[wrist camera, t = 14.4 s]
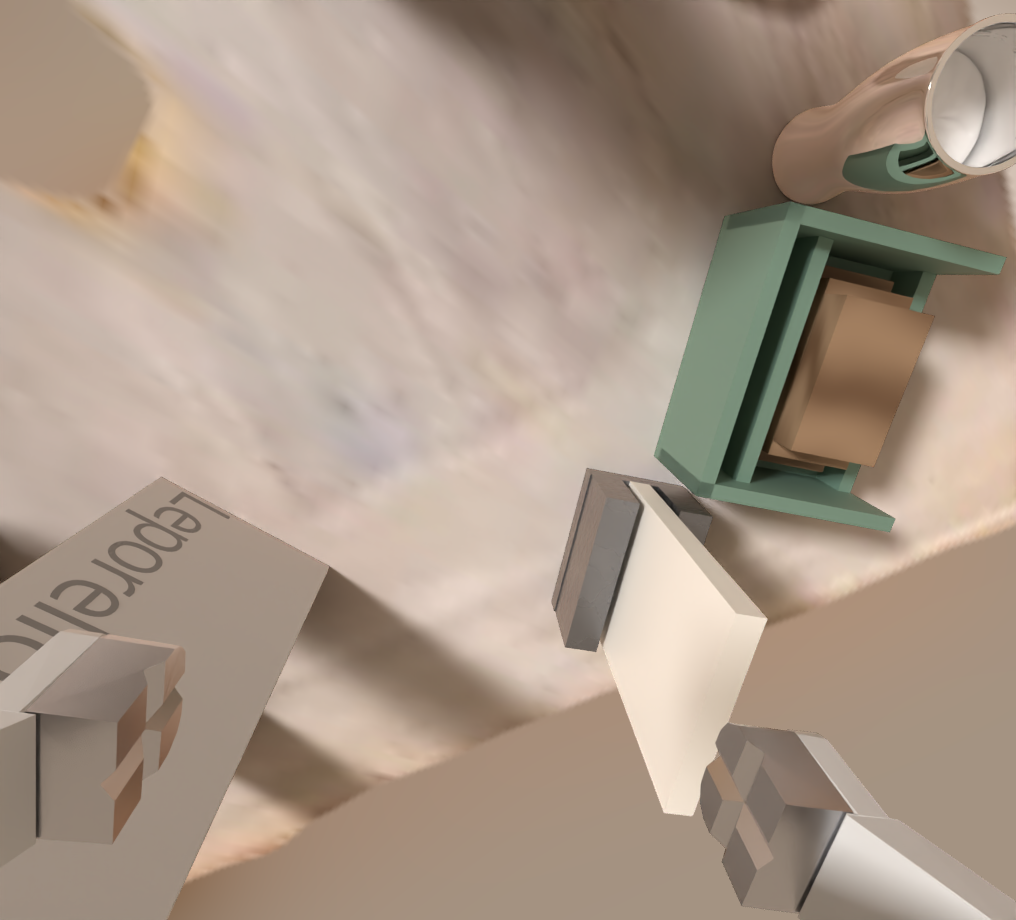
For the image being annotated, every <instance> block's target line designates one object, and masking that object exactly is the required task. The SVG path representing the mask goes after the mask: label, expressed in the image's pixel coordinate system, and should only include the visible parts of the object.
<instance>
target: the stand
mask: <svg viewBox="0 0 1016 920" xmlns="http://www.w3.org/2000/svg"><path fill="white" fill-rule="evenodd" d="M630 481H633V482H638V483H643V484H649V485H650V486H651V487H652V488H653V489H654V490H655V491H656V493H657V494H658V495H659V496H660V497H661V498H662V499H663V500H664V502H665V503H666V504H667V505H668V506H669V507H670V508H671V510H672V511H673V512H674V513H675V514H676V515H677V516H678V518H679V519H680V520H681V521H682V522H683V523H684V524H685V525H686V527H687V528H688V529H689V530H690V531H691V532H692V533H693V535H694V536H695V537H696V538H697V539H698V540H699V541H700V542H701V544H702V545H704V542H705V539H706V536H707V533H708V530H709V527H710V524H711V521H712V518H713V517H712V516H711V515H710V514H709V513H708V512H707V511H706V510H705V509H704V508H703V507H702V506H701V505H700V504H699V503H698V502H697V501H696V500H695V499H694V498H693V497H692V496H691V495H690V494H689V492H688V491H687V490H686V489H685V488H684V487H683V486H679V485H674V484H668V483H663V482H658V481H652V480H647V479H642V478H637V477H631V476H626V475H621V474H615V473H610V472H605V471H599V470H594V469H589V468H587V469H586V473H585V477H584V481H583V484H582V488H581V492H580V496H579V500H578V503H577V507H576V511H575V515H574V518H573V522H572V526H571V530H570V534H569V537H568V541H567V545H566V549H565V552H564V556H563V560H562V564H561V568H560V571H559V575H558V579H557V583H556V586H555V590H554V594H553V598H552V605H553V609H554V611H555V612H556V616H557V619H558V623H559V627H560V631H561V634H562V638H563V642H564V645H565V647H567V648H574V649H580V650H587V651H594V652H596V650H597V647H598V644H599V640H600V637H601V633H602V630H603V627H604V623H605V620H606V617H607V613H608V610H609V606H610V603H611V600H612V596H613V593H614V589H615V586H616V583H617V579H618V576H619V573H620V569H621V566H622V562H623V559H624V556H625V552H626V549H627V545H628V542H629V539H630V535H631V532H632V528H633V525H634V522H635V518H636V515H637V512H638V508H639V505H640V503H639V502H638V501H637V499H636V498H635V497H634V495H633V494H632V493H631V491H630V490H629V489H628V486H629V483H630Z"/></svg>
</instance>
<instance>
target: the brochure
mask: <svg viewBox="0 0 1016 920" xmlns="http://www.w3.org/2000/svg"><path fill="white" fill-rule="evenodd" d="M328 570H329V566H328V565H326V564H324V563H322V562H320V561H318V560H317V559H315V558H313V557H311V556H309V555H307V554H305V553H303V552H301V551H300V550H298V549H296V548H294V547H292V546H290V545H288V544H286V543H285V542H283V541H281V540H279V539H277V538H275V537H273V536H271V535H270V534H268V533H266V532H264V531H262V530H260V529H258V528H256V527H254V526H253V525H251V524H249V523H247V522H245V521H243V520H241V519H239V518H238V517H236V516H234V515H232V514H230V513H228V512H226V511H224V510H222V509H221V508H219V507H217V506H215V505H213V504H211V503H209V502H207V501H206V500H204V499H202V498H200V497H198V496H196V495H194V494H192V493H191V492H189V491H187V490H185V489H183V488H181V487H179V486H177V485H175V484H174V483H172V482H170V481H168V480H166V479H164V478H162V477H160V478H159V479H157V480H156V481H154V482H153V483H151V484H150V485H148V486H147V487H145V488H144V489H142V490H141V491H139V492H138V493H136V494H135V495H133V496H132V497H130V498H129V499H127V500H126V501H124V502H123V503H121V504H120V505H118V506H117V507H115V508H114V509H112V510H111V511H109V512H108V513H106V514H105V515H103V516H102V517H100V518H99V519H97V520H96V521H94V522H93V523H91V524H90V525H88V526H87V527H85V528H84V529H82V530H81V531H79V532H78V533H76V534H75V535H73V536H72V537H70V538H69V539H67V540H66V541H64V542H63V543H61V544H60V545H58V546H57V547H55V548H54V549H52V550H51V551H49V552H48V553H46V554H45V555H43V556H42V557H40V558H39V559H37V560H36V561H34V562H33V563H31V564H30V565H28V566H27V567H25V568H24V569H22V570H21V571H19V572H18V573H16V574H15V575H13V576H12V577H10V578H9V579H7V580H6V581H4V582H3V583H1V584H0V683H1V682H2V681H3V680H5V679H6V678H7V677H8V676H9V675H10V674H11V673H13V672H14V671H15V670H16V669H17V668H18V667H20V666H21V665H22V664H23V663H24V662H25V661H26V660H28V659H29V658H30V657H31V656H32V655H33V654H34V653H36V652H37V651H38V650H39V649H40V648H41V647H42V646H44V645H45V644H46V643H47V642H48V641H49V640H50V639H52V638H53V637H54V636H55V635H56V634H57V633H59V632H60V631H64V630H68V629H76V630H82V631H89V632H96V633H103V634H106V635H108V634H111V635H117V636H123V637H129V638H135V639H141V640H148V641H154V642H160V643H166V644H172V645H179V646H182V647H183V649H184V650H185V652H186V657H185V673H184V674H183V676H182V677H181V678H180V680H179V681H178V683H177V684H176V686H175V688H176V690H177V691H178V693H179V694H180V695H181V697H182V698H183V702H182V713H181V718H180V722H179V727H178V731H177V734H176V736H175V739H174V741H173V744H172V746H171V749H170V751H169V754H168V755H167V757H166V759H165V760H164V762H163V764H162V765H161V767H160V769H159V770H158V771H157V772H155V773H154V774H152V775H150V776H149V777H147V778H145V779H143V780H142V792H141V800H140V801H139V803H138V804H137V806H136V808H135V809H134V811H133V812H132V814H131V816H130V817H129V819H128V820H127V822H126V824H125V825H124V827H123V828H122V830H121V831H120V833H119V835H118V836H117V838H116V839H115V841H114V843H113V844H100V843H86V842H71V841H57V840H42V839H36V844H34V845H33V846H32V847H30V848H29V849H27V850H26V851H24V852H23V853H22V854H20V855H19V856H17V857H16V858H14V859H13V860H11V861H10V862H9V863H7V864H6V865H4V866H3V867H1V868H0V920H167V919H168V917H169V915H170V912H171V910H172V908H173V906H174V904H175V901H176V900H177V897H178V895H179V893H180V891H181V889H182V887H183V884H184V882H185V880H186V878H187V876H188V874H189V871H190V869H191V867H192V865H193V863H194V861H195V858H196V856H197V854H198V852H199V850H200V848H201V845H202V843H203V841H204V839H205V837H206V834H207V832H208V830H209V828H210V826H211V824H212V821H213V819H214V817H215V815H216V813H217V811H218V808H219V806H220V804H221V802H222V800H223V798H224V795H225V793H226V791H227V789H228V787H229V785H230V782H231V780H232V778H233V776H234V774H235V772H236V769H237V767H238V765H239V763H240V761H241V759H242V756H243V754H244V752H245V750H246V748H247V746H248V743H249V741H250V739H251V737H252V735H253V733H254V730H255V728H256V726H257V724H258V722H259V719H260V717H261V715H262V713H263V711H264V709H265V706H266V704H267V702H268V700H269V698H270V696H271V693H272V691H273V689H274V687H275V685H276V683H277V680H278V678H279V676H280V674H281V672H282V670H283V667H284V665H285V663H286V661H287V659H288V657H289V654H290V652H291V650H292V648H293V646H294V644H295V641H296V639H297V637H298V635H299V633H300V631H301V628H302V626H303V624H304V622H305V620H306V618H307V615H308V613H309V611H310V609H311V607H312V604H313V602H314V600H315V598H316V596H317V594H318V591H319V589H320V587H321V585H322V583H323V581H324V578H325V576H326V574H327V572H328Z"/></svg>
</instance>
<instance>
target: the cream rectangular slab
mask: <svg viewBox="0 0 1016 920" xmlns="http://www.w3.org/2000/svg"><path fill="white" fill-rule="evenodd" d="M628 489H629V490H630V491H631V493H632V494H633V495H634V497H635V498H636V499H637V501H638V502H639V503H640V505H639V508H638V512H637V515H636V518H635V522H634V525H633V528H632V532H631V535H630V539H629V542H628V545H627V549H626V552H625V556H624V559H623V562H622V566H621V569H620V573H619V576H618V579H617V583H616V586H615V589H614V593H613V596H612V600H611V603H610V606H609V610H608V613H607V617H606V620H605V623H604V627H603V630H602V633H601V637H600V642H601V644H602V647H603V650H604V652H605V655H606V658H607V661H608V663H609V666H610V669H611V671H612V674H613V677H614V679H615V682H616V685H617V688H618V690H619V693H620V695H621V698H622V701H623V704H624V706H625V709H626V712H627V714H628V717H629V720H630V723H631V725H632V728H633V731H634V733H635V736H636V739H637V741H638V744H639V747H640V749H641V752H642V755H643V758H644V760H645V763H646V766H647V769H648V771H649V774H650V777H651V779H652V782H653V784H654V787H655V790H656V793H657V796H658V798H659V800H660V804H661V806H662V809H663V812H664V813H669V814H678V815H687V816H693V813H694V811H695V809H696V806H697V803H698V800H699V798H700V786H701V781H702V778H703V775H704V772H705V769H706V766H707V765H709V764H710V763H711V762H713V761H714V759H715V756H716V753H717V751H718V749H717V747H716V744H715V742H716V740H717V737H718V735H719V732H720V730H721V729H722V728H723V727H724V726H725V725H726V724H727V723H728V722H729V719H730V716H731V714H732V711H733V708H734V706H735V703H736V700H737V698H738V695H739V693H740V690H741V687H742V685H743V682H744V680H745V677H746V674H747V672H748V669H749V666H750V664H751V661H752V659H753V656H754V653H755V651H756V648H757V645H758V642H759V640H760V637H761V634H762V632H763V630H764V627H765V624H766V622H767V617H766V616H765V615H764V614H763V613H762V612H761V611H760V609H759V608H758V607H757V606H756V605H755V604H754V603H753V602H752V600H751V599H750V598H749V597H748V596H747V595H746V594H745V592H744V591H743V590H742V589H741V588H740V587H739V586H738V584H737V583H736V582H735V581H734V580H733V579H732V578H731V577H730V575H729V574H728V573H727V572H726V571H725V570H724V569H723V567H722V566H721V565H720V564H719V563H718V562H717V561H716V560H715V558H714V557H713V556H712V555H711V554H710V553H709V552H708V550H707V549H706V548H705V547H704V546H703V545H702V544H701V542H700V541H699V540H698V539H697V538H696V537H695V536H694V535H693V533H692V532H691V531H690V530H689V529H688V528H687V527H686V525H685V524H684V523H683V522H682V521H681V520H680V519H679V518H678V516H677V515H676V514H675V513H674V512H673V511H672V510H671V508H670V507H669V506H668V505H667V504H666V503H665V502H664V500H663V499H662V498H661V497H660V496H659V495H658V494H657V493H656V491H655V490H654V489H653V488H652V487H651V486H650V485H649V484H643V483H638V482H633V481H630V483H629V486H628Z"/></svg>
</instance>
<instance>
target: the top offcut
mask: <svg viewBox="0 0 1016 920" xmlns="http://www.w3.org/2000/svg"><path fill="white" fill-rule="evenodd" d="M934 317H935V316H933V315H929V314H925V313H920V312H916V311H912V310H908V309H904V308H900V307H895V306H891V305H887V304H883V303H879V302H875V301H871V300H866V299H862V298H858V297H854V296H850V295H840V294H824V297H823V300H822V303H821V306H820V309H819V311H818V314H817V317H816V320H815V323H814V326H813V328H812V331H811V334H810V337H809V340H808V343H807V346H806V348H805V351H804V354H803V357H802V360H801V363H800V366H799V368H798V371H797V374H796V377H795V380H794V383H793V386H792V388H791V391H790V394H789V397H788V400H787V403H786V406H785V408H784V411H783V414H782V417H781V420H780V423H779V426H778V428H777V431H776V434H775V437H774V440H773V441H775V442H777V443H779V444H780V445H782V446H784V447H786V448H788V449H790V450H792V451H797V452H802V453H807V454H812V455H817V456H822V457H827V458H832V459H837V460H842V461H847V462H852V463H856V464H861V465H866V466H871V467H874V465H875V463H876V460H877V458H878V455H879V453H880V451H881V448H882V446H883V443H884V441H885V438H886V436H887V433H888V431H889V428H890V426H891V423H892V421H893V418H894V416H895V413H896V411H897V408H898V406H899V403H900V401H901V398H902V396H903V394H904V391H905V389H906V386H907V384H908V381H909V379H910V376H911V374H912V371H913V369H914V366H915V364H916V361H917V359H918V356H919V354H920V351H921V349H922V346H923V344H924V342H925V339H926V337H927V334H928V332H929V329H930V327H931V324H932V322H933V319H934Z"/></svg>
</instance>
